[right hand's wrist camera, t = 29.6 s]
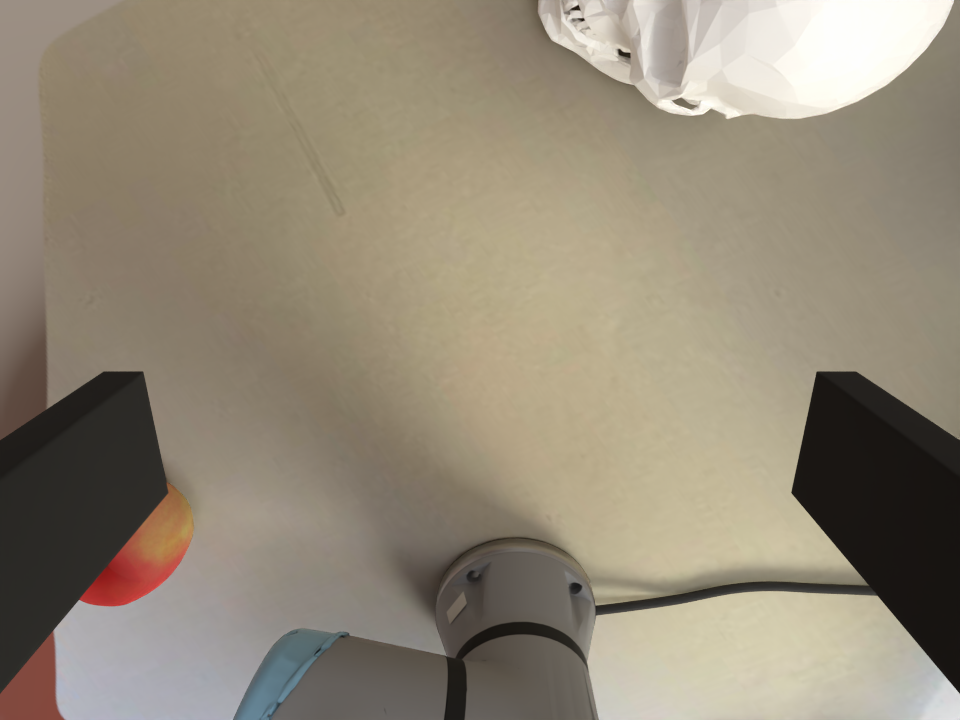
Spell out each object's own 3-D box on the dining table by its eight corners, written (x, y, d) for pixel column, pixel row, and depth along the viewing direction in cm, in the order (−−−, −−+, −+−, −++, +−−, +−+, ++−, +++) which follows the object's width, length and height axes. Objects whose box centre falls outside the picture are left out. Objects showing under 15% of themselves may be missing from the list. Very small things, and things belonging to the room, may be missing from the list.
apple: (203, 554, 59) (151, 635, 49) (101, 529, 58) (27, 608, 48) (219, 469, 55) (166, 540, 46) (110, 441, 54) (33, 508, 45)
